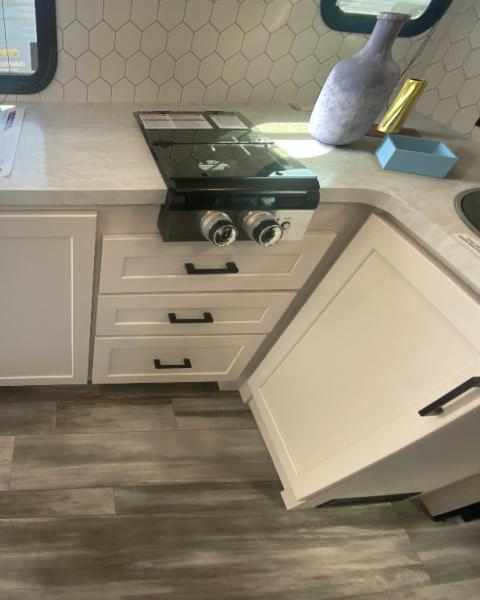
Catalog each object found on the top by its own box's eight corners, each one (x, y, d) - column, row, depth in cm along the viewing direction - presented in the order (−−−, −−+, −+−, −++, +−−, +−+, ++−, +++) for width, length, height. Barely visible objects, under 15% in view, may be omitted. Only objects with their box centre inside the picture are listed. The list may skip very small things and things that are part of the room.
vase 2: (376, 126, 114) (406, 76, 104) (398, 130, 112) (431, 79, 102) (375, 131, 110) (406, 79, 101) (398, 135, 108) (431, 83, 98)
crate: (429, 159, 95) (442, 141, 92) (443, 178, 87) (459, 158, 83) (374, 151, 99) (385, 133, 95) (382, 168, 90) (395, 149, 87)
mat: (414, 130, 114) (414, 128, 113) (425, 144, 104) (426, 142, 104) (352, 121, 118) (353, 120, 118) (358, 134, 109) (358, 133, 109)
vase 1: (352, 136, 108) (420, 12, 87) (366, 155, 97) (448, 18, 76) (297, 130, 111) (350, 9, 90) (304, 147, 100) (367, 14, 79)
